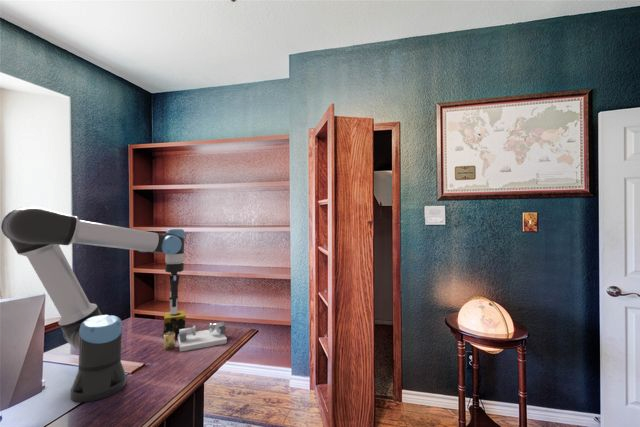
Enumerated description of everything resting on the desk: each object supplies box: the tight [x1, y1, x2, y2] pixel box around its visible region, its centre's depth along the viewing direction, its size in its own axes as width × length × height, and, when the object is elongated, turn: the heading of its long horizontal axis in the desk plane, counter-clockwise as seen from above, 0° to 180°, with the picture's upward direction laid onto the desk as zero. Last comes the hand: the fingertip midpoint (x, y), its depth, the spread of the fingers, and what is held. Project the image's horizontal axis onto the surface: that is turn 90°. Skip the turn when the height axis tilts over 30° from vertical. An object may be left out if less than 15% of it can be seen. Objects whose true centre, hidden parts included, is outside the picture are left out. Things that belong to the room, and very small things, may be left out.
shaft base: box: [177, 325, 228, 352], centre depth 142 cm, size 20×16×8 cm
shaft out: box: [208, 321, 226, 335], centre depth 146 cm, size 7×5×6 cm
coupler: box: [162, 331, 176, 351], centre depth 134 cm, size 5×5×7 cm
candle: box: [162, 310, 187, 339], centre depth 151 cm, size 10×10×10 cm
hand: (173, 309), depth 135 cm, fingers open, 13 cm apart
